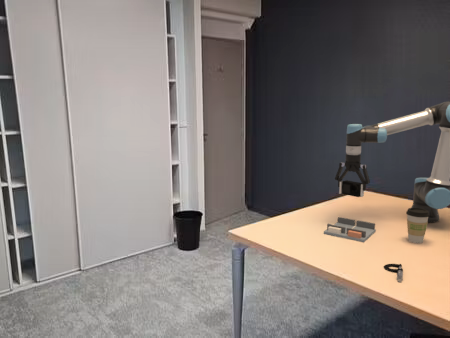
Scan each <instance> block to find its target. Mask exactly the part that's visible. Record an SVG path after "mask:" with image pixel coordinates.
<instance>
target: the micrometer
mask: <svg viewBox="0 0 450 338" xmlns="http://www.w3.org/2000/svg"><path fill="white" fill-rule="evenodd" d="M394 267H395V268H394ZM402 267H403V266H402V264H401V263H398V264H397V263H387V264H384V266H383V269H384V270H385V271H387V272H390V273H396V281H397V282H398V283H401V282H402V281H403V280H404V270H403V269H404V268H402Z"/></svg>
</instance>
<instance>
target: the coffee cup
mask: <svg viewBox="0 0 450 338" xmlns="http://www.w3.org/2000/svg"><path fill="white" fill-rule="evenodd" d="M429 216H430V214H429V212H428V210H426V209H422V208H411V207H409V208H408V209H407V210H406V225H407V226H406V227H407V234H408V235H407V239H408V242H411V243H414V244H422V243H423V242H424V238H425V235H426V231H427V226H428V223H429V222H428V217H429Z"/></svg>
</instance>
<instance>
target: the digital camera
mask: <svg viewBox="0 0 450 338" xmlns="http://www.w3.org/2000/svg"><path fill="white" fill-rule="evenodd" d="M361 184H362V182H358V181H352V180H347V179H346V180H342V193H341V194H343V195H345V196H350V197H356V198H361V197H360V196H361Z"/></svg>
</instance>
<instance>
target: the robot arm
mask: <svg viewBox="0 0 450 338" xmlns="http://www.w3.org/2000/svg"><path fill="white" fill-rule="evenodd" d="M427 125H429V126H434V125H438V128H439V129H440V131H441V132H440V136H439V140H438V144H437V149H436V151H435V152H436V153H435V155H434V156H435V157H434V161H433V164H432V170H431V173H430V176H429V177H416V178H415V179H414V187H413V197H412V198H413V200H412V205H411V207H410V208H422V209H426V210H428V212H429V214H430V216H429V217H428V223H437V222H439V221H440V213H439V211H438V210H442V209H445V208H447V207H449V206H450V100H449V101H448V100H447V101H444V102H441V103H438V104H435V105H432V106H429V107H426V108H425V109H424V110H422V111H418V112H415V113H411V114H407V115H404V116H403V115H402V116H399V117H397V118H392V119H389V120H386V121H383V122H379V123H375V124H371V125H365V126H363V124H361V123H352V124H351V123H350V124H347V128H346V137H345V138H346V139H345V140H346V141H345V143H346V145H345V153H346V154H345V162H339V164H338V166H339V167H338V168H337V172H336V175H335V177H334V180H335V181H337V186H338V188H339V191H338V194H339V195H341V194H342V181H343V179H344V178H345V176H346V175H348V172H353V173H356V175H357V176H358V178H359V180H360V183H362V184H361V196H360V197H359V198H363V197H364V195H365V191H366V189H367V185H369V184H370V183H371V180H370V177H369V174H368V169H367V167H368V165H367V164H361V160H362V159H361V157H362V155H361V153H362V143H373V144H374V143H377V144H379V143H386V141H387V139H388V136H389V135H393V134H397V133H400V132H404V131H408V130H412V129H416V128H419V127H423V126H427ZM344 167H345V169H344V171H343V168H344ZM360 168H361V169H362V171H361V169H360ZM342 171H343V172H342ZM362 173H363V174H362Z"/></svg>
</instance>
